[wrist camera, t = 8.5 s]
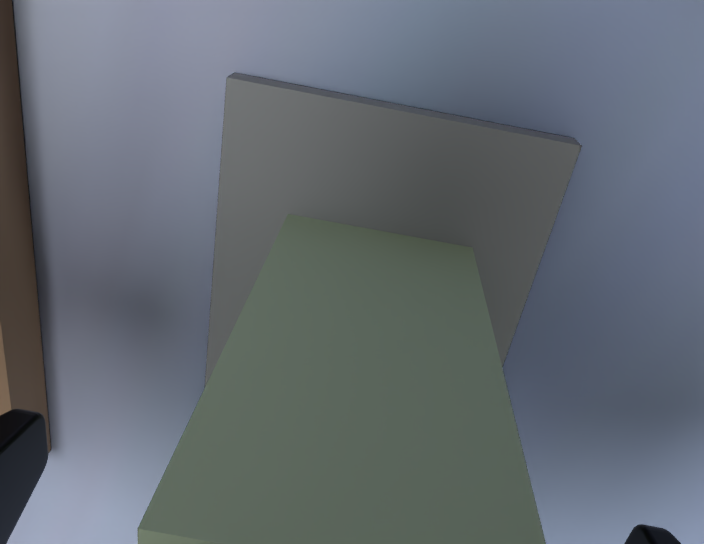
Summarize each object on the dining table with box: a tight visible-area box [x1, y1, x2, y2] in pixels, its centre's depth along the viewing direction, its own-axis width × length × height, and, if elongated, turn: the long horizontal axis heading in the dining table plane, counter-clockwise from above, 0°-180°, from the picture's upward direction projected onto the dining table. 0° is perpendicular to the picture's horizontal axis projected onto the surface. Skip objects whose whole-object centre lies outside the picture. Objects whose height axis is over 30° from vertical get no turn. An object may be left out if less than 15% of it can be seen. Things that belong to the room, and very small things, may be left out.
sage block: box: [138, 214, 546, 544], centre depth 10 cm, size 4×4×8 cm
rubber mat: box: [205, 73, 582, 387], centre depth 14 cm, size 7×9×1 cm
